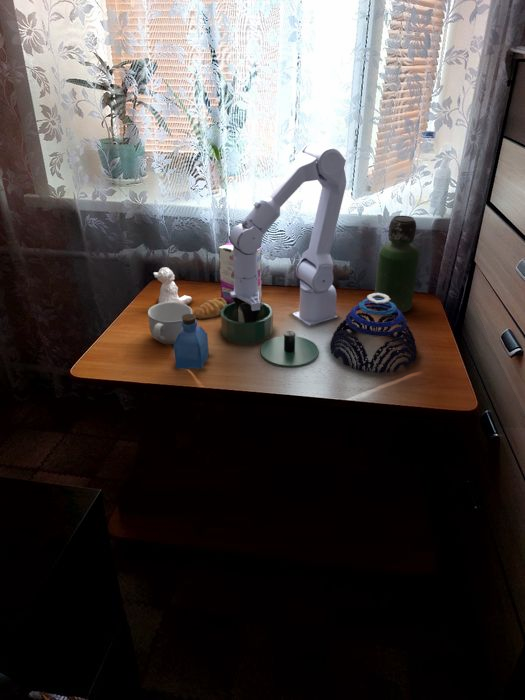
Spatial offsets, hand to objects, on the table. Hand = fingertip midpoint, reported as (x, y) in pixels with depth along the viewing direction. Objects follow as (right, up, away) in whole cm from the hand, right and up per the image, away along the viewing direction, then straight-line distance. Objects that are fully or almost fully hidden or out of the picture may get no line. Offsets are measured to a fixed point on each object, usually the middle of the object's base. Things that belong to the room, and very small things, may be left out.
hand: (247, 324), depth 137 cm
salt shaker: (0, -2, +1) cm, 2 cm away
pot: (0, -2, +1) cm, 2 cm away
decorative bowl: (+30, -7, -7) cm, 32 cm away
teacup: (-19, -5, -2) cm, 20 cm away
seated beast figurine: (-22, +5, +14) cm, 27 cm away
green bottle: (+40, +5, +13) cm, 43 cm away
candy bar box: (-2, +7, +16) cm, 18 cm away
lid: (+10, -7, -8) cm, 15 cm away
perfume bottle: (-12, -10, -11) cm, 19 cm away
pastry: (-10, +3, +10) cm, 15 cm away
